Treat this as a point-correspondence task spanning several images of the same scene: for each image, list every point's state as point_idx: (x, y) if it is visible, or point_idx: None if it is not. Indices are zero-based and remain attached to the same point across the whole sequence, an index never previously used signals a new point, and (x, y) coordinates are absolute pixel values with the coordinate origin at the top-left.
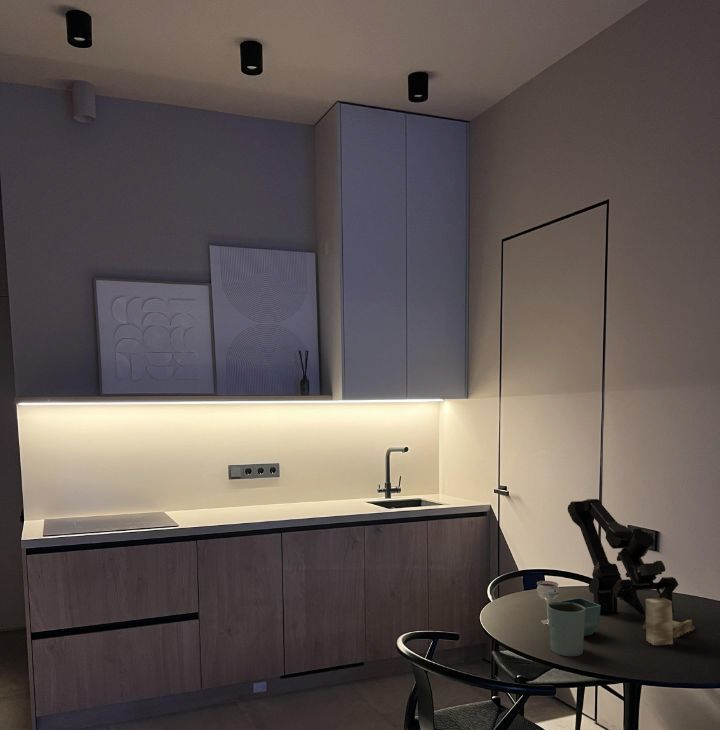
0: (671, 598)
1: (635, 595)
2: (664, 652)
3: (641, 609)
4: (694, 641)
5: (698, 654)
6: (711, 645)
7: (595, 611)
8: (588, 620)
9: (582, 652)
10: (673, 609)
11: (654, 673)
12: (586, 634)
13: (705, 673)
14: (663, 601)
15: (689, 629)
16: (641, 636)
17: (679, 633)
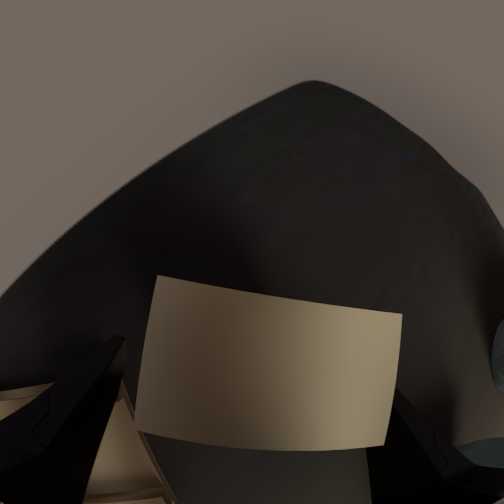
0: (41, 400)
1: (452, 472)
2: (299, 255)
3: (398, 391)
4: (78, 303)
5: (188, 191)
6: (62, 242)
7: None
8: (476, 455)
9: (500, 325)
10: (105, 343)
11: (417, 158)
12: None
13: (298, 100)
14: (265, 309)
15: (14, 389)
16: None
17: None
